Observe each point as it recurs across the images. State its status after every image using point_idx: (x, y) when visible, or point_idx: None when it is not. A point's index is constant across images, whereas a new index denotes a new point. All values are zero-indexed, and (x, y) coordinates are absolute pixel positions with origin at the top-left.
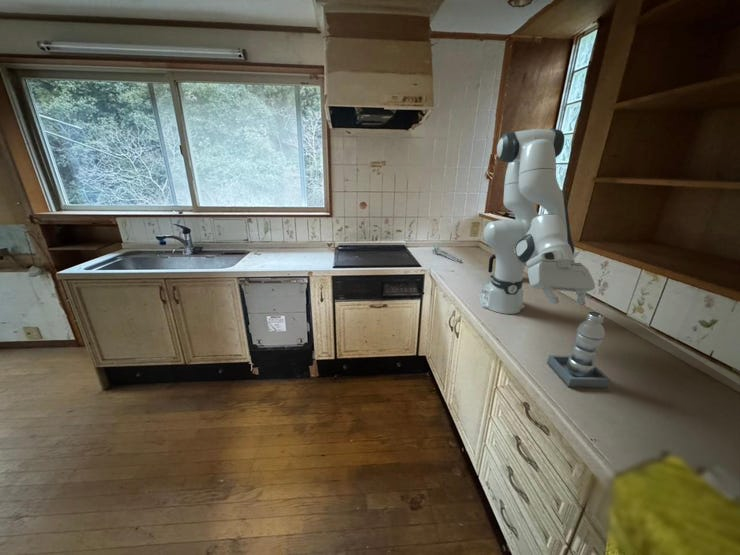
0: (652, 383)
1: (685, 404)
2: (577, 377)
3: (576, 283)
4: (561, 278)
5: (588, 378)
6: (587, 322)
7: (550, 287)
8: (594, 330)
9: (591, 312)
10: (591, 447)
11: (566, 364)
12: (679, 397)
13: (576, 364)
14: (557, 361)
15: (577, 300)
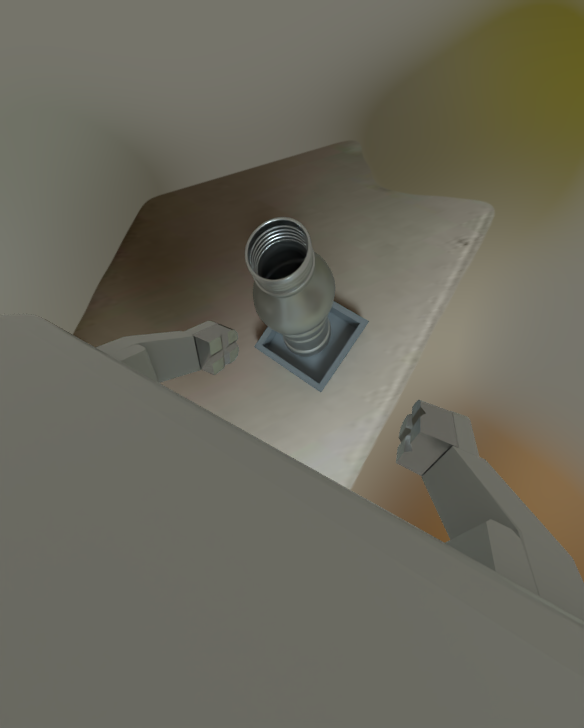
0: (220, 260)
1: (240, 216)
2: (350, 316)
3: (93, 402)
4: (237, 681)
5: (333, 303)
6: (308, 286)
7: (551, 600)
8: (321, 261)
9: (260, 278)
10: (484, 235)
11: (296, 363)
12: (227, 226)
13: (329, 327)
14: (308, 376)
15: (219, 359)
